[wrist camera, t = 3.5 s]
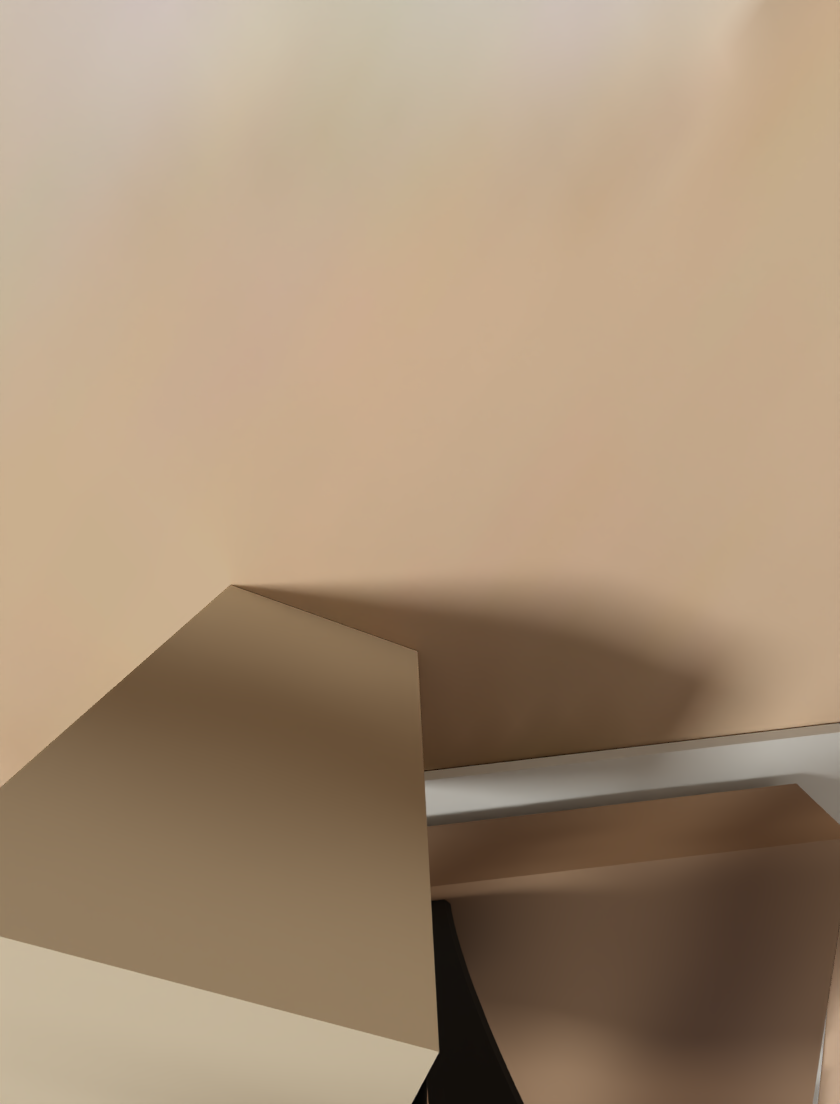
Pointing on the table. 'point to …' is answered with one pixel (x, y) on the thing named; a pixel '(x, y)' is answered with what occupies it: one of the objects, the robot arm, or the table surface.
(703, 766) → the underlay
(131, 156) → the table surface
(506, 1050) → the board
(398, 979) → the block
